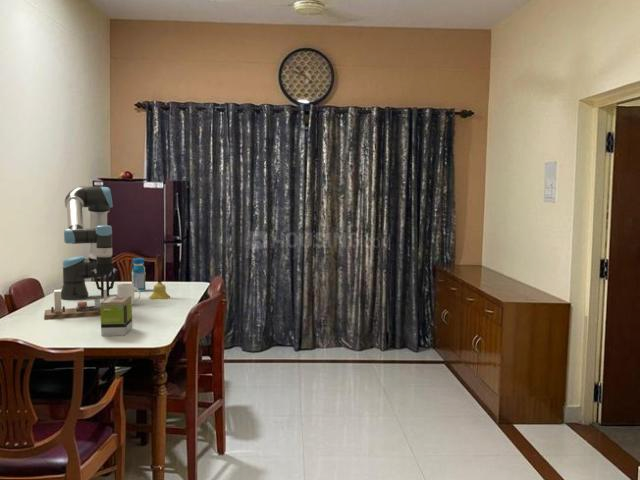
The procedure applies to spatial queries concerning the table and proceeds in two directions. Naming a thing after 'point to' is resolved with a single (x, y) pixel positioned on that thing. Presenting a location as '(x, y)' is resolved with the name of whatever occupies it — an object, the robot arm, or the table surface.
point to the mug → (127, 291)
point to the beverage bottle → (138, 274)
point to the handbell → (159, 283)
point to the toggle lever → (57, 299)
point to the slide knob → (97, 303)
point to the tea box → (116, 315)
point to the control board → (72, 312)
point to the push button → (82, 304)
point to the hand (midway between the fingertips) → (105, 302)
